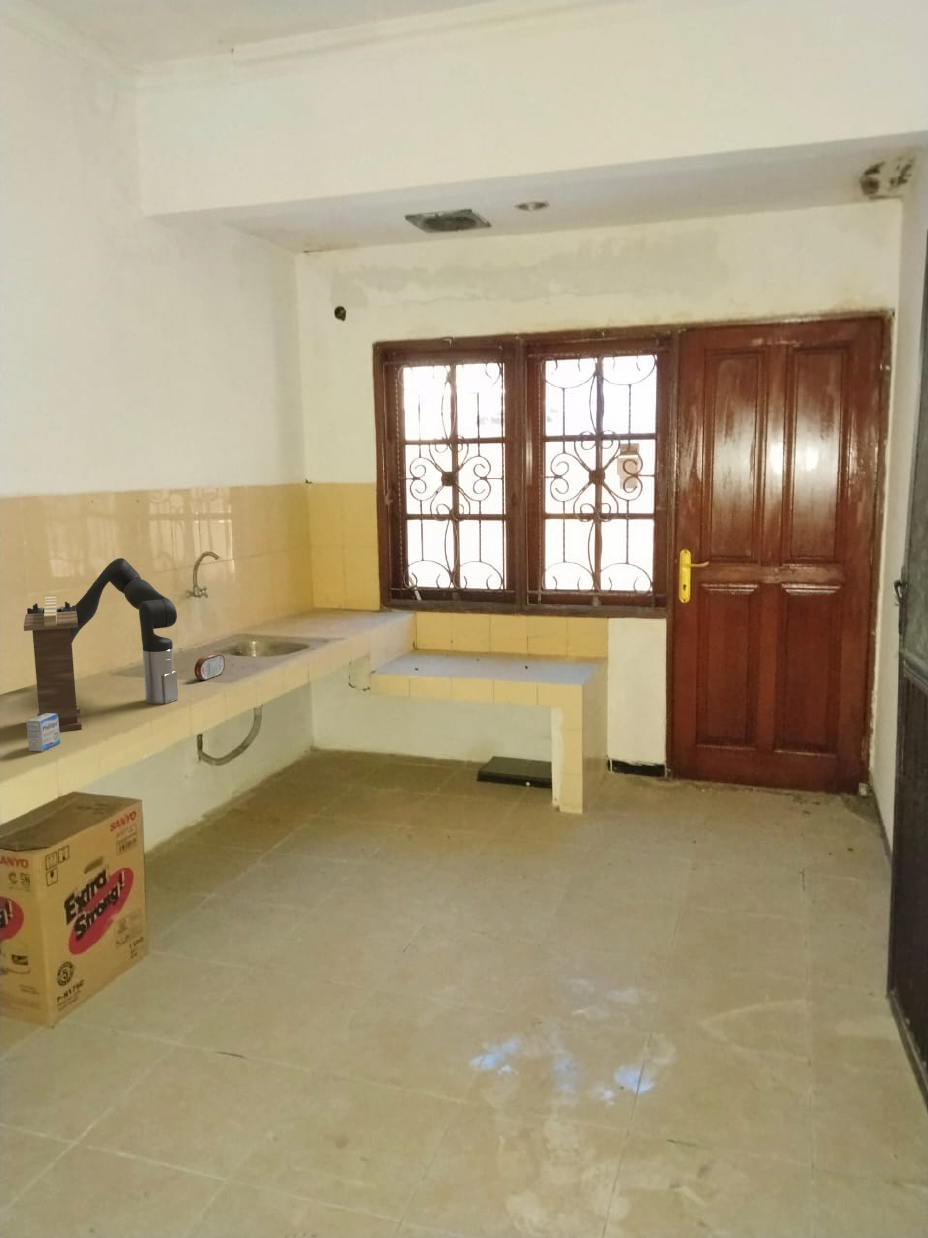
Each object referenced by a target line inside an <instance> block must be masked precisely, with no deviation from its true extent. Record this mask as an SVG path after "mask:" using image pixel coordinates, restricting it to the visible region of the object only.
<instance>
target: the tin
mask: <svg viewBox="0 0 928 1238" xmlns="http://www.w3.org/2000/svg"><path fill="white" fill-rule="evenodd" d="M225 666H226V658H225V657H224V655H223V654H221V653H217V652H214V653H209V654H207V655H203V656H200V657H199V658H198V659H197V661H196V663H195V665H194V676H195V678H196V679H197V680H201V681H202V680H203V681H207V680H210V679H214V678H216V677H219V676H220V675H222V674H223V672H224V671H225V668H226V667H225Z"/></svg>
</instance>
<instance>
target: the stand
mask: <svg viewBox="0 0 928 1238" xmlns="http://www.w3.org/2000/svg"><path fill="white" fill-rule="evenodd" d="M23 621H24V622H23V631H24V632H30V631H32V641H33V642H32V643H33V654H34V656H33V657H34V665H35V666H34V667H35V679H36V689H37V691H36V693H37V702H38V712H37V715H36V717H37V716H40V715H42V714H44V713H54V714H58V722H59V733H62V732H68V731H69V732H70V731H79V730H82V729H83V728H82V726H83V725H82V716H81V715H82V714H81V708H77V696H76V683H75V681H76V680H75V670H74V668H75V667H74V655H73V653H74V652H73V642H72V640H71V628H76V627H78V619H77V611H72V612H57V626H50V627H45V623H44V613H39V614H27V613H26V614H25V617H24V620H23Z"/></svg>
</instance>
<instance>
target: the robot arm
mask: <svg viewBox="0 0 928 1238" xmlns="http://www.w3.org/2000/svg"><path fill="white" fill-rule="evenodd" d="M108 583H110V584H111V585H112V586H113V587H114V588H115V589H116V590H118V592H120V593H122V594H124V597H125V600H126V601H127V602H128V603H129V604H130V605H131V606H132V607H133V608H135V609H136V610H138V617H139V624H140V633H141V634H140V636H141V643H142V644H141V645H142V657H143V658H142V659H143V660H142V661H143V675H144V676H143V677H144V678H143V679H144V691H145V703H148V704H153V705H154V704H155V705H158V704H159V705H160V704H169V703H172V702H174V701H178V700H179V693H178V689H179V688H178V675H177V671H176V670H175V666H174V663H175V662H174V651H173V650H174V648H173V647H174V645H173V641H172V639H171V638H168V637H164V636H160V635H157V634H155V631H154V629H155V630H156V629H165V628H170V627H172V626H174V625H175V623H176V622H177V619H178V614H177V613H178V612H177V609H176V607H175V605H174V603H173V602H172V600H171V599H169V598H168V597H166V596H164V595H163V594H161V593H160V592H158V591H157V590H156V589H155V588H154V587H153V586H152V585H151V584H150V583H149V582H148V581H147V580H145V579H142V578H141V576H140V574H139V572H138V571H137V570H136V569H135V568H134V567H133V566H132V565H131V564H130V563H129V562H128V561H127V560H126V559H125V558H123V557H120V558H116V559H114V560H112V561H111V562H109V564H107V566H106V567H105V568H104V569H103V571H102V572H101V573H100V574H99V575H98V577H97V578H96V579H95V580H94V582H93V583H92V584H91V586H90V587H89V588H88V590H87V591H86V593H84V595H83V597H81V598H80V600H78V602H76V604H75V605H72V606H71V604H70V603H69V602H68V601H64V606H60V607H57V612H72V611H77V619H78V627H76V628H71V640H72V643H73V641H74V640H75V638H76V636H78V634H79V632H80V630H82V629H83V628H84V626H85V625H86V624H87V623H89V621H91V619H93V617H94V616H95V614H96V613H97V610H98V607H99V604H100V600H101V595H102V593H103V591H104V589H105V588H106V586H107V585H108ZM44 609H45V607H39V605H38V603H36V602H35V603H34V604H33V605H32V608H30V607H27V608H26V612H27V613H26V614H39V613H44Z"/></svg>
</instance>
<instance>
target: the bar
mask: <svg viewBox="0 0 928 1238" xmlns="http://www.w3.org/2000/svg"><path fill="white" fill-rule="evenodd" d="M57 604H58V602H57V595H55V594H54V595H45V601H44V608H45V609H44V623H45V627H50V626H57V608H58V607H57Z"/></svg>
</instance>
